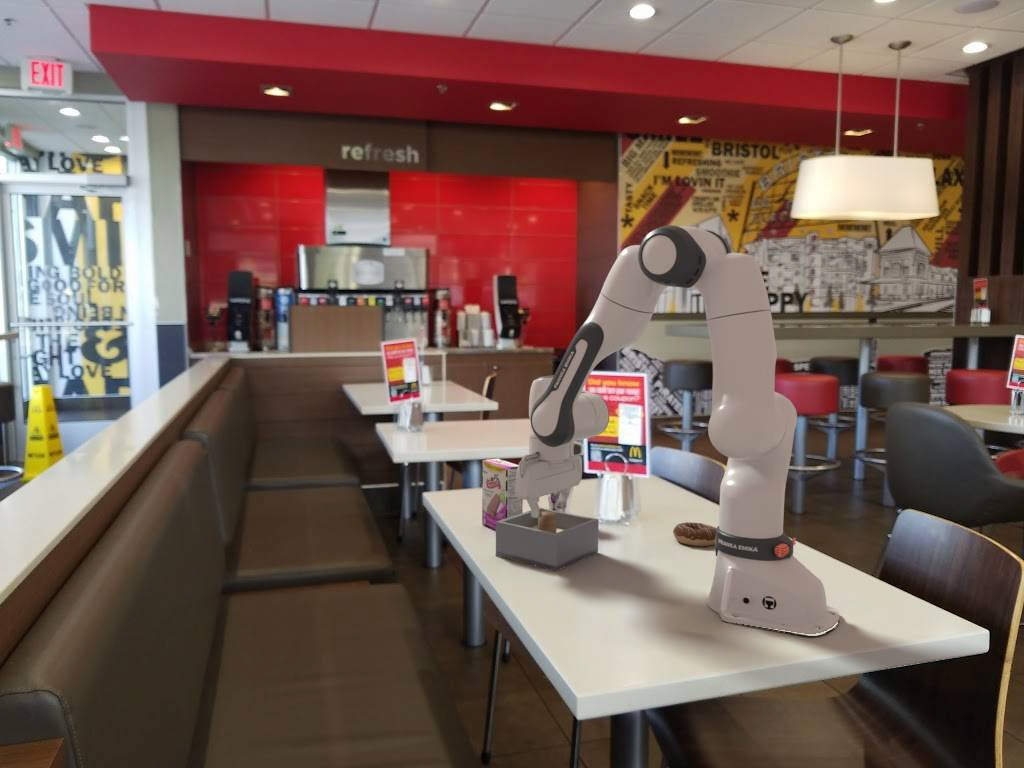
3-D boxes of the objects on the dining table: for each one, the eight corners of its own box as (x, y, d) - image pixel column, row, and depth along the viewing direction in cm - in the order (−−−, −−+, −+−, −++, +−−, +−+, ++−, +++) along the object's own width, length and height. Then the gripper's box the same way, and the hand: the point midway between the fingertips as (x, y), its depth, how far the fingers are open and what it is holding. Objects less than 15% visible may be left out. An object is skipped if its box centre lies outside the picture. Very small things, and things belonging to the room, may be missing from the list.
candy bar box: (480, 525, 197) (481, 459, 195) (497, 522, 200) (498, 457, 198) (506, 536, 188) (506, 467, 186) (523, 533, 191) (524, 465, 189)
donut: (671, 546, 181) (671, 529, 181) (674, 533, 192) (675, 517, 191) (719, 550, 179) (720, 533, 178) (720, 537, 189) (721, 521, 188)
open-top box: (597, 552, 176) (598, 519, 175) (556, 571, 163) (556, 535, 163) (539, 539, 186) (539, 507, 185) (495, 555, 173) (495, 521, 172)
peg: (559, 549, 175) (560, 513, 174) (549, 553, 172) (549, 517, 171) (544, 545, 177) (545, 510, 176) (534, 549, 174) (534, 513, 173)
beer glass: (571, 528, 195) (572, 467, 194) (543, 526, 196) (544, 466, 195) (574, 520, 202) (576, 462, 200) (547, 519, 203) (548, 461, 202)
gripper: (532, 458, 162) (532, 524, 163) (587, 444, 178) (586, 505, 179) (507, 454, 166) (508, 520, 167) (563, 442, 182) (563, 501, 183)
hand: (549, 512), depth 173 cm, fingers open, 8 cm apart
